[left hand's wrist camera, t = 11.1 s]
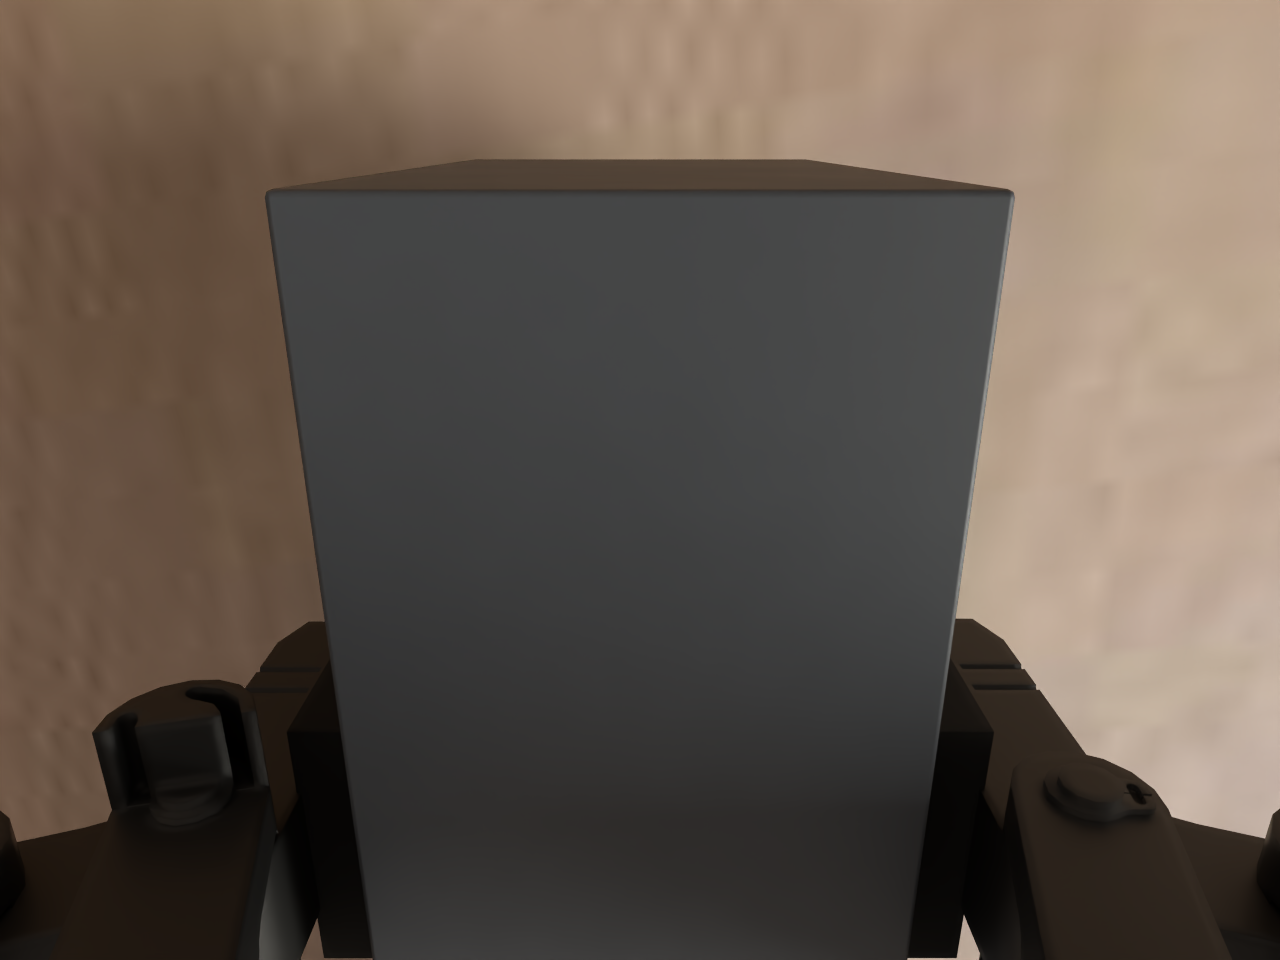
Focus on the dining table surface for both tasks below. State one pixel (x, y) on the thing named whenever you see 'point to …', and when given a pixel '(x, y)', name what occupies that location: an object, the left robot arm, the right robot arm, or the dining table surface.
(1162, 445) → the dining table surface
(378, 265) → the beam
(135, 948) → the left robot arm
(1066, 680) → the dining table surface
